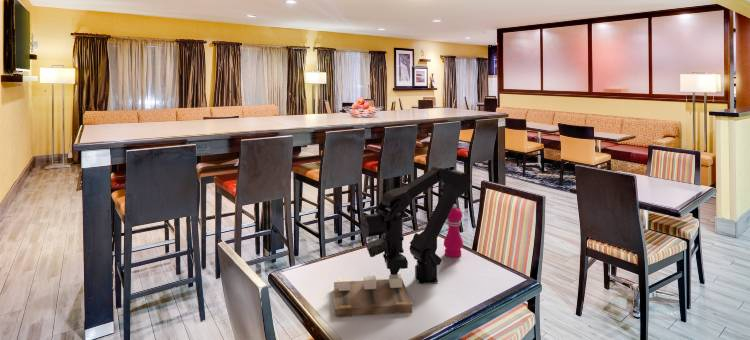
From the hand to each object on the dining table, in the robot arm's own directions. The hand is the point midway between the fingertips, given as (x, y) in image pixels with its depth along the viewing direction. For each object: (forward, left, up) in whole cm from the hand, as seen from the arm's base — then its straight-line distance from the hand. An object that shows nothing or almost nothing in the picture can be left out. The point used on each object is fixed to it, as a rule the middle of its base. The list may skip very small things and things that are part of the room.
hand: (393, 278), depth 140 cm
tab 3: (0, +4, 0) cm, 4 cm away
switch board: (+8, +7, -3) cm, 11 cm away
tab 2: (+8, +4, 0) cm, 9 cm away
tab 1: (+16, +4, 0) cm, 17 cm away
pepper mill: (-27, -25, -4) cm, 37 cm away
